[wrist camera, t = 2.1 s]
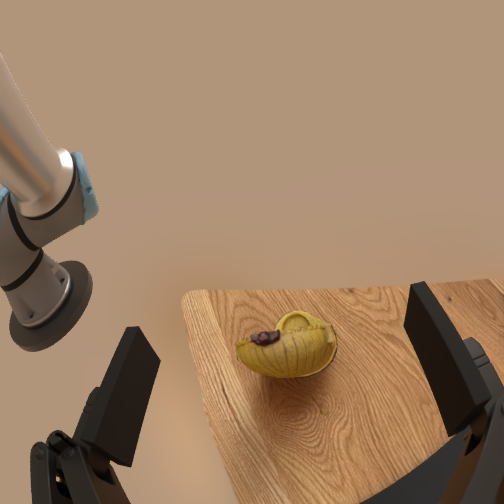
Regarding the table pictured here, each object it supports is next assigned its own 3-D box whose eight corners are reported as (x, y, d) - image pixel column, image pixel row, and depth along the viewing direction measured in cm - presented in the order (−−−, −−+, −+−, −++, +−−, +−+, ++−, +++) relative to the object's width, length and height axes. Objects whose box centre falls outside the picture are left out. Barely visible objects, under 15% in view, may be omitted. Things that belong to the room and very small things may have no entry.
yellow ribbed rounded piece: (320, 422, 24) (332, 359, 15) (245, 405, 27) (203, 333, 17) (340, 332, 32) (351, 233, 22) (276, 322, 35) (259, 225, 25)
